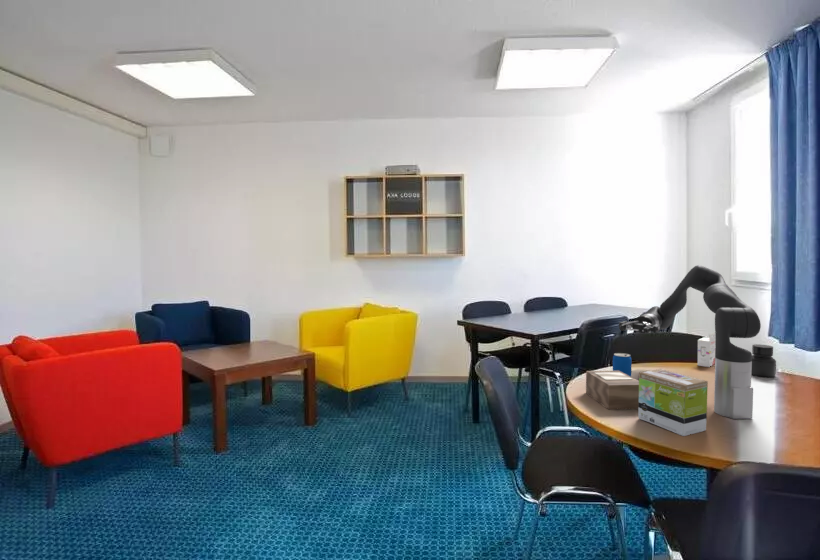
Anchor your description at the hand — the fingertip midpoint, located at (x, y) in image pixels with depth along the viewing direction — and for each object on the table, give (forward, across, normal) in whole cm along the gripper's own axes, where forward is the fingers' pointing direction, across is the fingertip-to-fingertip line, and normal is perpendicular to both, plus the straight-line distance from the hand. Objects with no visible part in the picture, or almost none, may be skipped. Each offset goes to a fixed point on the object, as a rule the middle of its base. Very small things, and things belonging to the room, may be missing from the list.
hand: (632, 329), depth 181 cm
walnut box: (+32, +5, +19) cm, 37 cm away
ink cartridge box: (-46, +16, +22) cm, 54 cm away
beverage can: (+12, 0, +20) cm, 23 cm away
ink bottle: (-42, +36, +22) cm, 60 cm away
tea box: (+44, +26, +18) cm, 54 cm away
